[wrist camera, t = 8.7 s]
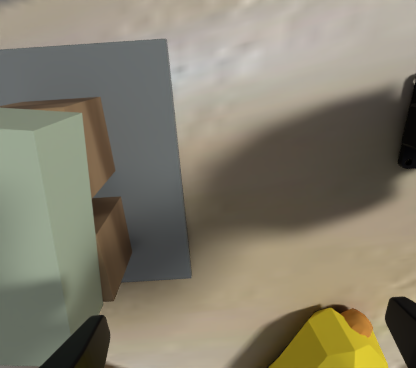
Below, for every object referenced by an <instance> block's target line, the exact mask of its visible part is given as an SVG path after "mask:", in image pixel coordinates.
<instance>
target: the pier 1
mask: <svg viewBox="0 0 416 368" xmlns="http://www.w3.org/2000/svg"><path fill="white" fill-rule="evenodd" d="M0 108H14V109H30V110H45V111H61V112H77V113H82V117H83V126H84V136H85V145H86V154H87V163H88V172H89V181H90V190H91V199H92V198H93V197H94V196H95V195H96V193H97V192H98V191H99V190H100V189H101V188H102V186H103V185H104V184H105V183H106V182H107V180H108V179H109V178H110V177H111V176H112V174H113V173H114V172H115V171H116V170H115V165H114V160H113V156H112V151H111V146H110V141H109V136H108V131H107V126H106V122H105V117H104V112H103V107H102V102H101V97H89V98H74V99H58V100H43V101H28V102H19V103H13V104H8V105H3V106H0Z"/></svg>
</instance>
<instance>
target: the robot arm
mask: <svg viewBox="0 0 416 368" xmlns="http://www.w3.org/2000/svg"><path fill="white" fill-rule="evenodd" d="M407 159H408V162H407V163H405V162H406V160H407ZM398 164H399V166H401V167H403V168H405V169H413V168H416V82H415V86H414V91H413V95H412V100H411V104H410V107H409V111H408V116H407V120H406V125H405V129H404V134H403V138H402V145H401V149H400V154H399V158H398ZM385 321H386V324H387V326H388V328H389V330H390V332H391V334H392V336H393V338H394V341H395V343H396V345H397V347H398V349H399V351H400V353H401V355H402V357H403V359H404V361H405V363H406V365H407V367H408V368H416V303H415V302H413V301H412V300H410V299H408V298H406V297H392V298H390V299H389V302H388V306H387V310H386V314H385ZM109 343H110V331H109V327H108V324H107V320H106V317H105V316H104V315H93V316H90V317H89V318H88V319H87V320H86V321H85V322H84V323H83V324H82V325H81V326H80V327H79V328H78V329H77V330H76V331H75V332H74V333H73V334H72V335H71V336H70V337H69V338H68V339H67V340H66V341H65V342H64V343H63V344H62V345H61V346H60V347H59V348H58V349H57V350H56V351H55V352H54V353H53V354H52V355H51V356H50V357H49V358H48V359H47V360H46V361H45V362H44V363H43V364H42V365H41V366H40V367H39V368H104V367H105V362H106V357H107V352H108V348H109Z"/></svg>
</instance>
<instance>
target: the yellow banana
mask: <svg viewBox="0 0 416 368" xmlns="http://www.w3.org/2000/svg"><path fill="white" fill-rule="evenodd" d="M268 368H388V364H387V362H386V359H385V357H384V355H383V353H382V350H381V348H380V346H379V344H378V342H377V339H376V337H375V335H374V333H373V327H372V324H371V322H370V321H369V320H368V319H367V317H366V316H365V315H364V314H362V313H361V312H359V311H358V310H355V309H353V308H352V309H350V310H347V311H344V312H342V313H341V314H339V313H338V312H336V311H335V310H333V309H332V308H331V307H330V308H327V309H323V310H320V311H317V312H315V313H314V314H313V315H312V316H311V317H310V319H309V320H308V321H307V322H306V323H305V325H304V326H303V327H302V329H301V330H300V331H299V332H298V334H297V335H296V336H295V337H294V339H293V340H292V341H291V342H290V344H289V345H288V346H287V348H286V349H285V350H284V351H283V353H282V354H281V355H280V356H279V358H277V359H276V360H275V361H274V362H273V363H272V364H271V365H270V366H269V367H268Z"/></svg>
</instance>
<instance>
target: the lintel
mask: <svg viewBox="0 0 416 368" xmlns="http://www.w3.org/2000/svg"><path fill="white" fill-rule="evenodd" d="M102 306H103V298H102V289H101V280H100V271H99V262H98V253H97V244H96V235H95V226H94V217H93V208H92V199H91V190H90V181H89V172H88V163H87V154H86V145H85V136H84V126H83V117H82V113H77V112H61V111H45V110H30V109H14V108H0V365H12V366H41V365H42V364H43V363H44V362H45V361H46V360H47V359H48V358H49V357H50V356H51V355H52V354H53V353H54V352H55V351H56V350H57V349H58V348H59V347H60V346H61V345H62V344H63V343H64V342H65V341H66V340H67V339H68V338H69V337H70V336H71V335H72V334H73V333H74V332H75V331H76V330H77V329H78V328H79V327H80V326H81V325H82V324H83V323H84V322H85V321H86V320H87V319H88V318H89V317H90V316H93V315H99V313H100V311H101V308H102Z"/></svg>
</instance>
